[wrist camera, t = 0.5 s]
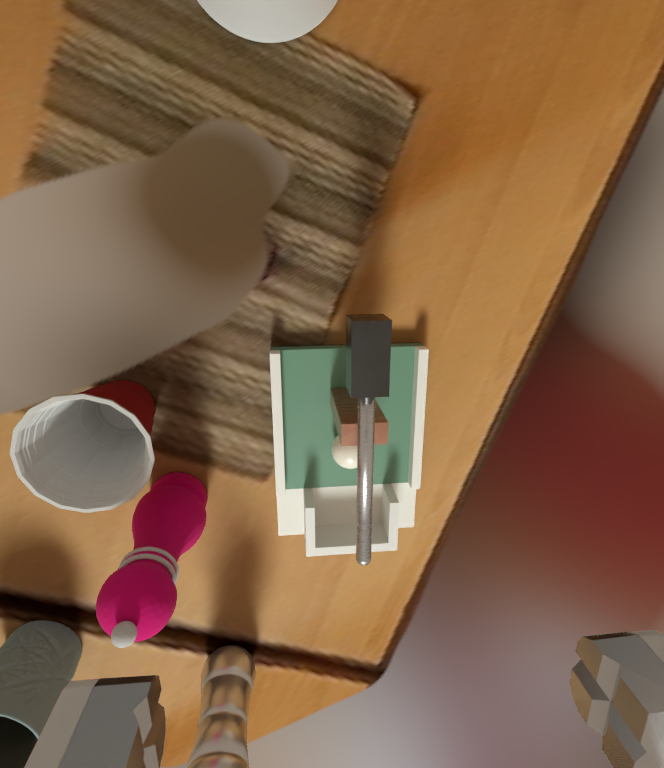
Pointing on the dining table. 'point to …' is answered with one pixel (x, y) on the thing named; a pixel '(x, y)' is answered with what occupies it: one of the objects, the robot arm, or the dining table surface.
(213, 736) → the plastic bottle
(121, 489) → the plastic cup
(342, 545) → the pitch
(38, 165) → the dining table surface
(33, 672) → the grey textured cup
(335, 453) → the ball
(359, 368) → the kicker rod
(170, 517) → the pepper mill
